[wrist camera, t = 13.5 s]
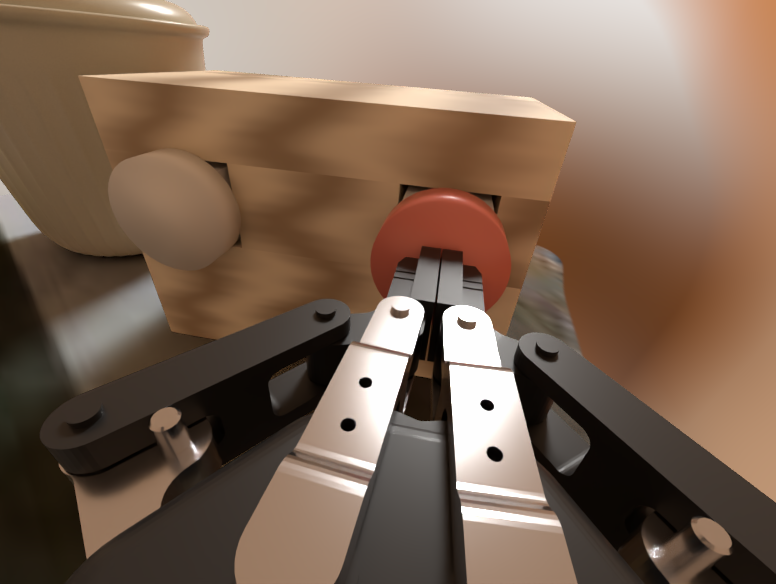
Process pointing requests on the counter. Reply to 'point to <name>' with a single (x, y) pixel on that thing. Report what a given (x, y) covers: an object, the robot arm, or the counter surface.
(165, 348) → the counter surface
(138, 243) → the beige plug
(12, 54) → the canister
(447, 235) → the red plug
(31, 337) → the counter surface
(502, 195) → the block
